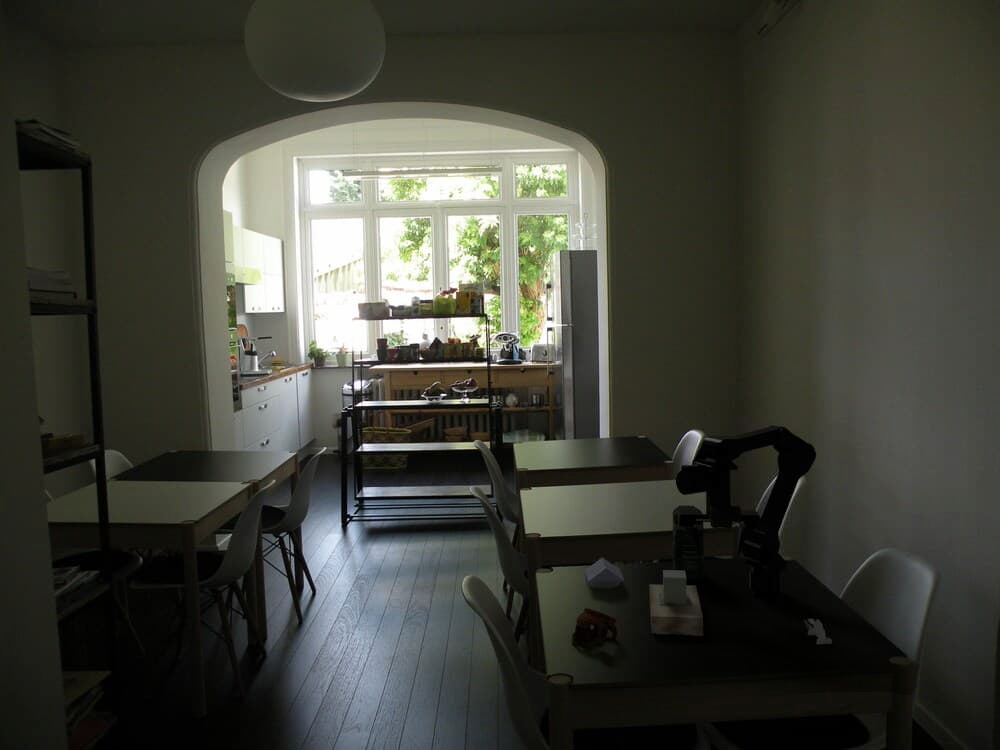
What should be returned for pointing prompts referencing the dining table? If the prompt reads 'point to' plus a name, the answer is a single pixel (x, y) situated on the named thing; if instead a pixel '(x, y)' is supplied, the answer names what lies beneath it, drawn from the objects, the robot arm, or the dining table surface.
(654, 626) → the birch base
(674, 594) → the sage block
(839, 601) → the dining table surface
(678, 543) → the coffee jar
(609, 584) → the wedge on round base
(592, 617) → the pottery mug
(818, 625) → the grey curved piece
